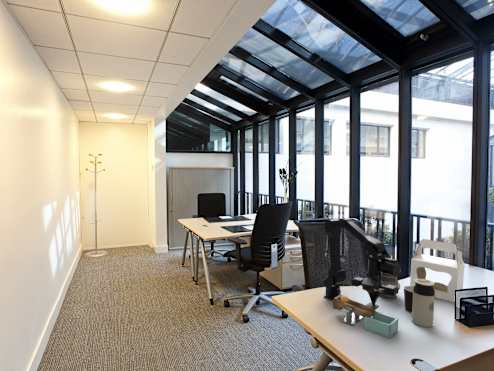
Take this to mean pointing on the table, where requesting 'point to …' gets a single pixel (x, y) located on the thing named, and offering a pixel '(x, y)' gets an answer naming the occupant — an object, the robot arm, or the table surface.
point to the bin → (382, 324)
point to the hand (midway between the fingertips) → (373, 304)
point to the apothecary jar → (389, 280)
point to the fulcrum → (351, 317)
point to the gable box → (438, 267)
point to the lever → (355, 307)
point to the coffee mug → (408, 298)
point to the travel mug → (423, 302)
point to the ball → (344, 299)
